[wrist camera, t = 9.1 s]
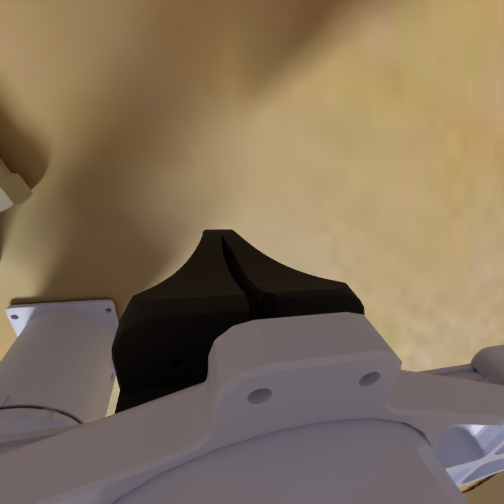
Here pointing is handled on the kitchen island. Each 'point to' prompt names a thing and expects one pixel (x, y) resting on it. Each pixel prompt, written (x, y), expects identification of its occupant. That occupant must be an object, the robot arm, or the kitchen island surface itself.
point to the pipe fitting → (12, 188)
